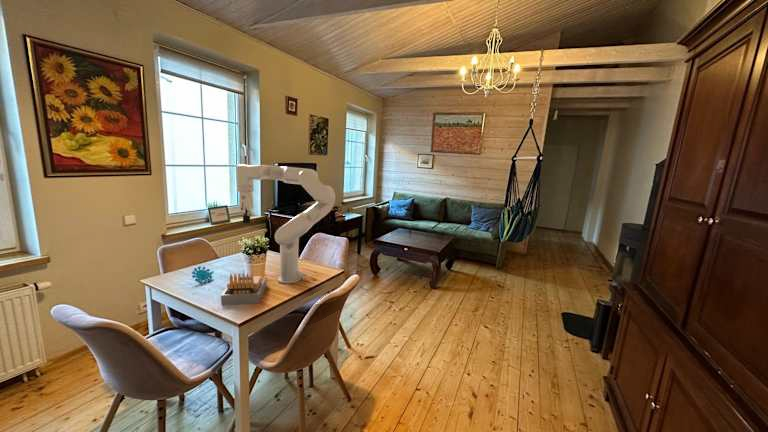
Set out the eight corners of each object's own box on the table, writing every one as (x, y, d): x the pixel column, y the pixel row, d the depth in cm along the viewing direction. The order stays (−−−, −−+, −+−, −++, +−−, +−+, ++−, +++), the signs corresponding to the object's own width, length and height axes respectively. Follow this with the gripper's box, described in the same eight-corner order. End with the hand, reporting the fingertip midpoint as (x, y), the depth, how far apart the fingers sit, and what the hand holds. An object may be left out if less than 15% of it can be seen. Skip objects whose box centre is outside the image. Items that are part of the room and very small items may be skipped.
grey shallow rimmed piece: (259, 303, 141) (258, 293, 140) (221, 304, 138) (220, 295, 137) (266, 285, 160) (266, 277, 159) (233, 286, 157) (233, 278, 156)
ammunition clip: (229, 299, 140) (228, 274, 138) (230, 297, 142) (229, 272, 140) (254, 298, 142) (253, 273, 140) (254, 296, 144) (254, 272, 142)
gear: (196, 283, 154) (190, 267, 157) (191, 289, 156) (185, 273, 159) (217, 280, 164) (211, 264, 167) (212, 285, 166) (206, 270, 169)
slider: (257, 295, 145) (257, 281, 144) (227, 296, 142) (227, 282, 141) (261, 287, 154) (260, 274, 152) (232, 288, 151) (232, 274, 149)
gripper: (250, 190, 153) (251, 226, 156) (256, 187, 167) (256, 220, 171) (233, 189, 151) (235, 226, 155) (241, 187, 166) (242, 220, 169)
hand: (246, 222), depth 163 cm, fingers closed
